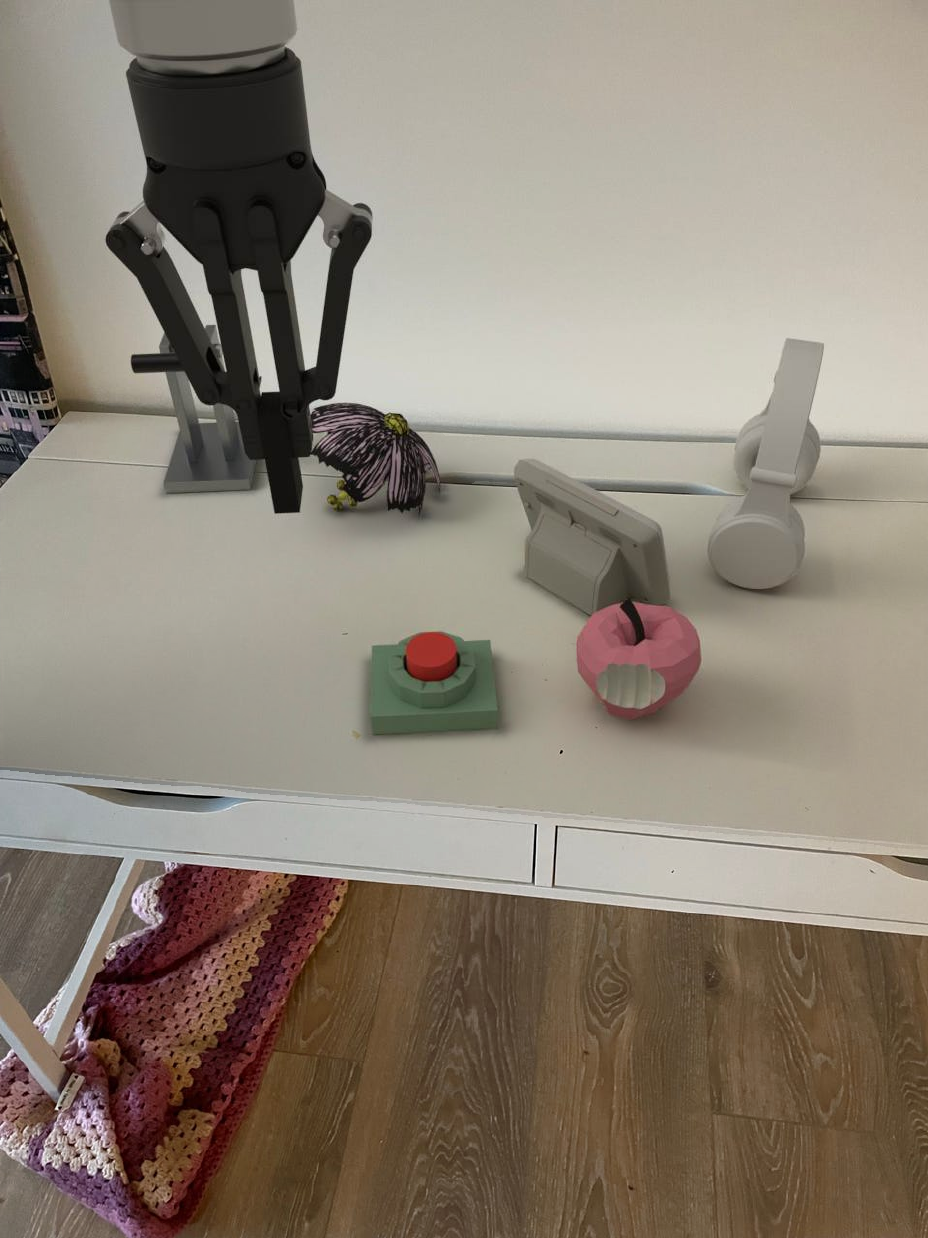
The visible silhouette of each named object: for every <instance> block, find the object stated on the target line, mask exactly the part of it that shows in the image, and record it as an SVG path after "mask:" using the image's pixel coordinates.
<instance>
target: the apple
mask: <svg viewBox="0 0 928 1238" xmlns="http://www.w3.org/2000/svg"><path fill="white" fill-rule="evenodd" d="M575 647H576V666H577V672H578V673H579V675H580V677H581V678H582V679H583V681H584V682H585V684H586V685H587V686H588V687H589V688H590V689H591V691H592V692H593V693H594V695H595V696H596V697H597V698H598V700H599V701H600V703H601V704H602V705H603V707H604V708H605V710H606V712H607V713H608V715H610V716H612V717H613V716H614V717H616V718H620V719H624V720H629V721H631V720H633V719H636V718H640V717H642V716H649V715H653V714H654V713H656V712H657V711H659V710H660V709H661V708H662V707H665V705H667V704H669V703H671V702H673V701H675V700H676V699H677V698H678V697H680V696H681V695H682V694H684V692H685V691H686V690H687V689H688V687H689V686H690V684H691V683H692V682H693V680H694V679H695V677H696V675H697V673H698V672H699V670H700V666H701V664H702V650H701V641H700V637H699V634H698V631H697V628H696V627H695V626H694V625H693V623H692V622H691V621H690V620H689V618H688V617H687V616H686V615H684V614H682V613H680V612H679V611H676V610H675V609H673V608H672V607H670V606H666V605H658V606H657V605H648V604H646V603H644V602H637V601H632V599H631V598H630V597H629V596H628V597H626V598H625V599H624V601H621V602H619V603H618V604H615V605H611V606H608V607H606V608H604V609H602V610H600V611H598V612H596V613H594V614H593V615H592V616H590V617H589V619H588V620H587V622H586V623H585V625H584V626H583V628H582V629H581V631H580V632H579V634H578V635H577V637H576V643H575Z"/></svg>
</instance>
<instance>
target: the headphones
mask: <svg viewBox="0 0 928 1238" xmlns="http://www.w3.org/2000/svg"><path fill="white" fill-rule="evenodd" d="M824 349H825V343H824V342H818V341H812V340H804V339H798V338H797V339H796V338H790V337H787V338H786V339H785V341H784V343H783V347H782V351H781V356H780V360H779V364H778V368H777V370H776V371H775V374H774V377H773V383H774V384H773V388H772V392H771V394H770V397H769V399H768V401H767V404H766V406H765V407H764V409H763V410H762V411H760V413H758V414H755V415H754V416H753V417H751V418H750V419H748V421H746V422H745V423H744V425H743V426H742V427H741V429H740V431H739V432H738V435H737V436H736V439H735V445H734V453H733V468H734V469H733V470H734V472H735V475H736V477H737V479H738V481H740V483H741V484H742V485H743V487H744V488H746V489H747V492H746V494H745V495H740V496H738V497H736V498H733V500H731V501H730V502H728V503H727V504H726V505H724V507H723V508H722V509H721V511H720V512H719V514H718V515H717V517H716V519H715V523H714V524H713V526H712V528H711V530H710V532H709V536H708V540H707V556H708V559H709V562H710V565H711V566H712V567H713V569H714V570H715V572H716V573H717V574H718V575H719V576H720V577H721V578H723V579H724V580H726V582H727V581H728V582H729V583H730V584H733V585H735V586H737V587H739V588H740V587H741V588H745V589H750V590H768V589H771V588H775V587H778V586H781V585H783V584H785V583H786V582H788V581H789V580H790V579H792V578H793V577H794V576H795V575H796V574H797V572H798V571H799V569H800V567H801V565H802V563H803V560H804V558H805V552H806V542H805V537H806V533H805V531H806V530H805V529H806V528H805V525H804V520H803V518H802V516H801V514H800V513H799V511H798V510H797V509H796V507H794V505H793V504H791V495H793V494H796V493H797V492H799V491H801V490H802V489H803V488H804V487H805V486H807V484H808V483H809V482H810V481H811V479H812V477H813V476H814V474H815V472H816V469H817V468H816V467H817V465H818V462H819V459H820V456H821V451H822V450H821V448H822V447H821V444H822V443H821V439H820V435H819V433H818V429H816V427H815V426H814V424H813V423H812V421H811V420H810V415H811V411H812V408H813V407H812V406H813V402H814V398H815V394H816V389H817V385H818V380H819V375H820V371H821V366H822V362H823V355H824Z"/></svg>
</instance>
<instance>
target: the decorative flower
mask: <svg viewBox="0 0 928 1238" xmlns="http://www.w3.org/2000/svg"><path fill="white" fill-rule="evenodd" d="M310 415H311V422H312V429H313V434H321V433H323V434H324V433H326V435H325V436H323V437H322V438H321V439H320V440H319V441H318V442H317V443H316V444H315V445H314V447H312V451H311V454H310V456H314V457H317V458H318V459H317V460H318V465H320V464H322V463H323V464H324V465H325V467H326V468H329V467H331V468H333V470H335V471H337V472H338V471H339V472H340V473H342V474H343V475H341V477H342V479H343V480H342V479H341V480H340V479H338V481H337V482H336V489H337V490H339V491H341V493H340V494H339V495H338V496H337V495H336V494H329V495H328V496H327V498H326V501H327V503H328V504H329V505H331V506H332V509H333V510H335V511H341V509H343V505H344V504H343V502H342V501H345V500H346V499H347V500H346V502H347V505H348V507H351V508H354V507H357V505H358V503H363V502H365V501H368V500H370V499H371V498H372V497H374V496H375V495H376V494H377V493H378V492H379V491H380V490H381V489H382V488H383V487H384V486H385V485H386V483H387V489H386V505H387V506H386V508H387V512H389V511H392V510H395V509H396V510H399V512H400V513H401V514H404V512H405V511H406V512H409V513H410V512H411V509H413V510H414V509H417V510H418V515H417V516H418V517H419V516H420V515H421V512H422V509H423V504H424V501H425V495H426V486H427V485H426V484H427V482H426V481H427V478H426V474H427V471H428V470H429V471H430V470H432V473H433V474H434V477H435V478H434V479H435V480H436V486H437V489H438V491H439V493H441V491H442V490H441V479H440V478H441V477H440V472H439V468H438V465H437V462H436V459H435V457H434V455H433V453H432V451H431V449H430V447H429V446H428V444H427V443H426V441H425V440H424V439H423V438H422V437H421V436H420V435H419V434H418V433H417V432H416V431H414V430H413V429H411V428H410V426H409V423H408V420H407V419H406V418H405V417H404V416H403V414H402V413H397V412H388V413H383V412H382V411H380V410H378V409H377V408H374V407H372V406H369V405H366V404H361V403H356V402H355V403H354V402H335V403H329V404H323V405H319V406H316V407H314V408H312V411H311V412H310Z"/></svg>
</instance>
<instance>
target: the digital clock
mask: <svg viewBox="0 0 928 1238" xmlns="http://www.w3.org/2000/svg"><path fill="white" fill-rule="evenodd" d="M513 477H514V482H515V485H516V489H517V491H518V494H519V497H520V500H521V503H522V506H523V509H524V513H525V515H526V518H527V520H528V525H529V527H530V530H531V531H530V533H529V534H528V535H527V537H526V540H525V545H524V567H523V568H524V569H523V575H524V576H525V577H526V578H527V579H529V580H532V581H533V582H534V583H536V584H538V585H540V586H541V587H543V588H545V590H548V591H549V592H551V593H552V594H554V595H556V596H557V597H559V598H561V599H562V600H564V601H566V602H567V603H569V604H570V605H572V606H573V607H576V608H577V609H579V610H581V611H582V612H584V613H585V614H586V615H589V616H590V617H591V616H592V615H593V614H594V613H596V612H598V611H600V610H602V609H604V608H606V607H608V606H611V605H615V604H619V603H622V602H623V600H626V599H627V598H628V597H629V596H631V597H634V598H636V599H637V600H639V601H641V602H642V603H643V604H648V605H657V606H663V605H664V604H666V603H667V602H668V601H669V600H670V599H671V582H670V574H669V568H668V562H667V554H666V553H667V552H666V547H665V539H664V535H663V529H662V528H661V526H660V524H659V523H658V522H657V521H656V520H654V519H652V518H651V517H649V516H647V515H645V514H643V513H642V512H639V511H638V510H636V509H633V508H632V507H631V506H628V505H625V504H624V503H622V502H620V501H618V500H616V499H614V498H613V497H610V496H608V495H606V494H605V493H602V492H600V491H599V490H597V489H595V488H593V487H591V486H589V485H587V484H585V483H583V482H582V481H579V480H578V479H576V478H574V477H572V476H569V475H568V474H566V473H564V472H562V471H560V470H558V469H556V468H554V467H553V466H550V465H548V464H546V463H544V462H542V461H540V460H537V459H535V458H522V459H518V461H517V462H516V464H515V466H514V471H513Z"/></svg>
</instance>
